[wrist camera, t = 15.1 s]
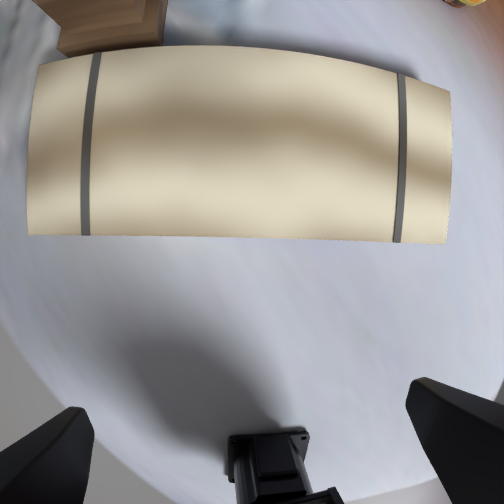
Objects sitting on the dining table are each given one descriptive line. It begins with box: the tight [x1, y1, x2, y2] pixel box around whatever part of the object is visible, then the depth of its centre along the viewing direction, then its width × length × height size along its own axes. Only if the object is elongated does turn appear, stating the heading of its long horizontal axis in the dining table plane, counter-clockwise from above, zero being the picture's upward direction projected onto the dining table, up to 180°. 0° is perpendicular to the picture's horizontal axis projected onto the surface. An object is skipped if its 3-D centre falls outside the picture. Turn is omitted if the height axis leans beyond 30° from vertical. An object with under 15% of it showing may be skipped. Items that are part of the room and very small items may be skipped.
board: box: [27, 45, 452, 244], centre depth 16 cm, size 10×25×3 cm, turn 88°
